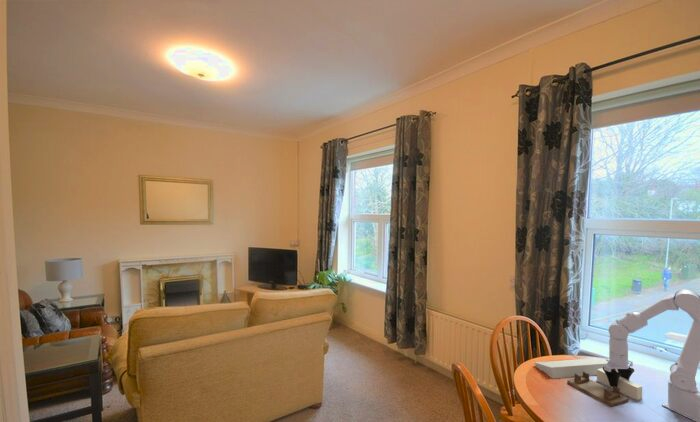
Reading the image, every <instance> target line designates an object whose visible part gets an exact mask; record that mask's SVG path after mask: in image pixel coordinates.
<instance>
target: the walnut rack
mask: <svg viewBox="0 0 700 422" xmlns="http://www.w3.org/2000/svg"><path fill="white" fill-rule="evenodd" d="M566 383H567V384H568V385H570V386H571V387H574V388H575V389H578V390H579V391H581V392H582V393H585V394H587V396H590V397H592V398H594V399H595V400H597V401H600V402H601V403H602V404H605V405H607V406H608V407H610V408H611V407H612V408H613V407H615V406H619V405H622V404H626V403H629V398H628V397H627V396H624V395H622V394H621V392H620V388H617V387H615V386H613V388H612V389H610V388H608V387H606V386H604V385H602V384H600V383H598V382H596V381H594V380H592V379H590V376H589V373H586V372H584V371H583V376H580V375H578V374H576V373H575V377H573V378H572V379H568V380H567V381H566Z"/></svg>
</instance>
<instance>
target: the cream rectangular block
mask: <svg viewBox="0 0 700 422" xmlns="http://www.w3.org/2000/svg"><path fill="white" fill-rule="evenodd" d="M596 381H598V382H599V383H601V384H603V385H605V386H608V387H610V388H612V389H613V387H611V386H610V384H609V381H608V378H607V375H606V373H605V372H604V370H603V369H602V368H600V369H597V375H596ZM617 388H620V393H622V394H624V395H625V396H628V397H630V398H632V399H634V400H636V401H639V400H642V399H643V386H642V385H640V384H638V383H636V382H633V381H631V380H630V379H629V380H627V379H625V378H622V377H619V380H618V386H617Z"/></svg>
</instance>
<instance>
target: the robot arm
mask: <svg viewBox="0 0 700 422" xmlns="http://www.w3.org/2000/svg"><path fill="white" fill-rule="evenodd" d="M679 309H680V310H682V311H683V312H685V313H687V315H689V317H690V318H691V319H692V320H693V321H692V323H691V326H690V329H689V331H688V334H687V337H686V338H685V342H684V344H683V346H682V349H681V351H680V354H679V356H678V358H677V360H676V362H675V363H673V364H671V365H670V368H669V372H670V375H669V379H668V380H667V401H668V402H665V403H662V405H661V406H662V407H664V408H666V409H669V410H671V411H672V412H676V413H677V414H679V415H681V416H683V417H686V418H687V419H690V420H691V421H694V422H700V391H699V389H698V387H697V382H696V376H697V371H698V367H699V364H700V294H699V293H697V292H695V291H694V290H692V289H687V288H683V289H682V288H681V289H678V290H677V291H676V292H675V293H674V292H673V293H671V294H668V295H666V296H665V297H662V298H660V299H659V300H658V301H656V302H654V303H653V304H652V305H649V306H648V307H646V308H645V309H643V310H641V311H640V312H636V311H632V312H627V313H626V314H625V316H623V317H622V318H620V319H615V322H611V324H610V325H609V327H608V333H609V340H608V342H609V343H608V344H609V345H608V350H609V351H608V353H609V354H608V356H609V358H606V359H605V360H606V361H608V362H607V364H606V365H604V367H603V370H604V372H605V373H606V375H607V378H608V381H609V384H610V386H611V387H613V386H615V387H617V386H618V380H619V377H622V378H625V379H627V380H629V381H630V379H631V377H632V375H633V373H634V372H635V369H634V368H633V362H634V361H632V360H630V359H629V343H628V337H629V334H635V332H638V331H639V330H641V329H643V328H645V327H646V326H648V320H650V319H652V318H654V317H657V316H659V315H661V314H663V313H664V312H667V311H679ZM616 369H618V372H617V371H616ZM611 387H610V388H611Z"/></svg>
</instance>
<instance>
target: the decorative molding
mask: <svg viewBox="0 0 700 422" xmlns="http://www.w3.org/2000/svg"><path fill="white" fill-rule="evenodd" d="M607 362H608V361H606V359H604V358H599V357H595V358H594V357H593V358H579V359H578V358H577V359H566V360H565V359H564V360H550V361H535V362H534V365H535V367H536V368H538V369H539V370H540V371H542V372H543V373H545V374H546V376H549V378H552V379H553V380H554V379H566V378H567V379H568V378H575V373H576V374H578V375H580V376H583V371H584V372H586V373H589V377H590V376H597V369H600V368H602V369H603V367H604V365H606V364H607ZM616 371H617V372H618V369H616Z"/></svg>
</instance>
